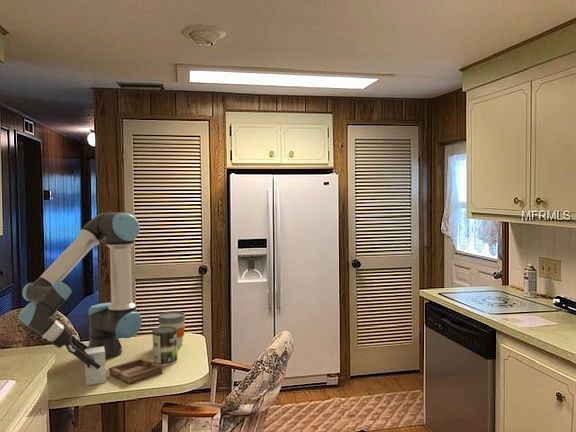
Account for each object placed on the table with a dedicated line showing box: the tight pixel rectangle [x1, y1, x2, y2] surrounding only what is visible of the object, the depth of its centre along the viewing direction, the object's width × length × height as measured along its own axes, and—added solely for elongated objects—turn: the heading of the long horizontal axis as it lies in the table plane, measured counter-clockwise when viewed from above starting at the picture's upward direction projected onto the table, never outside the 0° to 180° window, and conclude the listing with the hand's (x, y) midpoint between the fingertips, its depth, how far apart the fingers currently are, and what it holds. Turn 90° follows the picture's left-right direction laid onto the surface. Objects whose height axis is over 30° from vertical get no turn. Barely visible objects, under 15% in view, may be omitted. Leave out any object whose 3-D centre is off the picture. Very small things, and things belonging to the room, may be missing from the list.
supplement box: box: [84, 346, 107, 387], centre depth 194 cm, size 7×7×13 cm
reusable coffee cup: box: [157, 310, 186, 349], centre depth 234 cm, size 13×13×15 cm
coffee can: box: [151, 326, 179, 367], centre depth 214 cm, size 10×10×14 cm
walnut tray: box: [108, 357, 163, 386], centre depth 201 cm, size 15×15×3 cm
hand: (104, 368), depth 195 cm, fingers closed on supplement box, 7 cm apart
